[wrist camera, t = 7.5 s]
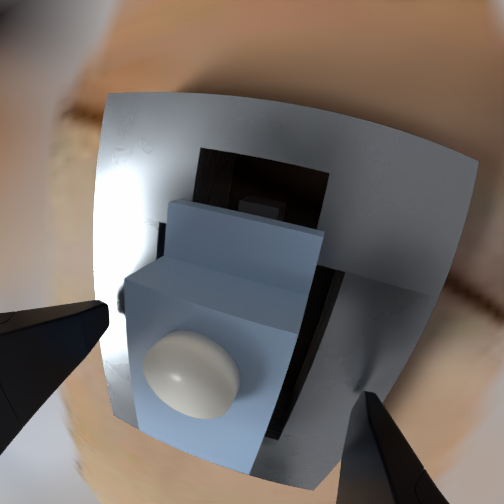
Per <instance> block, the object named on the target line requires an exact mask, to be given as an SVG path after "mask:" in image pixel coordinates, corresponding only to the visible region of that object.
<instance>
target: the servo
mask: <svg viewBox="0 0 504 504" xmlns="http://www.w3.org/2000/svg"><path fill="white" fill-rule="evenodd" d="M286 204H287V203H285V202H281V201H276V200H272V199H267V198H262V197H258V196H253V195H252V196H249V197H247V198H244V199H241V200H240V201H239V207H238V211H234V210H229V209H224V208H220V207H215V206H210V205H206V204H201V203H196V202H191V201H186V200H181V199H178V200H174V201H171V202H168V211H167V222H166V234H165V248H164V256H162V257H160V258H159V259H157V260H155V261H153V262H152V263H150V264H148V265H146V266H145V267H143V268H141V269H139V270H138V271H136V272H134V273H132V274H131V275H129V276H127V277H125V278H124V300H125V320H126V334H127V346H128V356H129V366H130V374H131V382H132V389H133V396H134V403H135V409H136V415H137V420H138V426H139V431H141V432H143V433H145V434H147V435H149V436H151V437H153V438H155V439H157V440H159V441H161V442H164V443H166V444H168V445H170V446H172V447H175V448H177V449H179V450H182V451H184V452H186V453H189V454H191V455H194V456H196V457H199V458H201V459H204V460H206V461H209V462H212V463H215V464H217V465H220V466H223V467H226V468H229V469H232V470H235V471H238V472H242V473H245V474H248V475H249V473H250V471H251V468H252V466H253V463H254V461H255V458H256V456H257V453H258V451H259V448H260V445H261V443H262V440H263V438H264V435H265V432H266V430H267V427H268V424H269V421H270V419H271V416H272V413H273V410H274V408H275V405H276V402H277V399H278V396H279V393H280V390H281V387H282V384H283V381H284V378H285V375H286V372H287V369H288V366H289V363H290V360H291V357H292V354H293V351H294V347H295V344H296V341H297V338H298V334H299V331H300V327H301V323H302V319H303V315H304V311H305V307H306V303H307V299H308V295H309V292H310V288H311V284H312V280H313V277H314V273H315V269H316V265H317V261H318V257H319V253H320V249H321V245H322V241H323V237H324V231H320V230H316V229H312V228H308V227H303V226H299V225H295V224H291V223H287V222H283V220H284V215H285V210H286Z"/></svg>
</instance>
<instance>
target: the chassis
mask: <svg viewBox="0 0 504 504" xmlns="http://www.w3.org/2000/svg"><path fill="white" fill-rule="evenodd" d="M236 153H238V154H243V155H249V156H254V157H259V158H265V159H270V160H274V161H279V162H284V163H289V164H293V165H298V166H302V167H306V168H311V169H315V170H319V171H323V172H327V173H330V175H329V179H328V184H327V188H326V193H325V197H324V201H323V205H322V210H321V214H320V218H319V222H318V226H317V230H320V231H324V237H323V241H322V245H321V249H320V253H319V257H318V261H317V264H318V265H322V266H325V267H329V268H332V269H336V270H335V273H334V276H333V279H332V283H331V286H330V289H329V292H328V295H327V298H326V301H325V304H324V307H323V310H322V313H321V316H320V319H319V322H318V325H317V328H316V331H315V333H314V336H313V339H312V342H311V345H310V347H309V350H308V353H307V355H306V358H305V361H304V363H303V366H302V369H301V371H300V374H299V376H298V379H297V381H296V384H295V386H294V389H293V391H292V393H291V392H288V391H284V390H280V393H279V396H278V399H277V402H276V405H275V408H274V410H273V413H272V416H271V419H270V421H269V424H268V427H267V430H266V432H265V435H264V438H263V440H262V443H261V445H260V448H259V451H258V453H257V456H256V458H255V461H254V463H253V466H252V468H251V471H250V473H249V475H251V476H254V477H257V478H261V479H265V480H268V481H272V482H276V483H280V484H284V485H289V486H293V487H298V488H303V489H308V490H314V489H315V488H316V487H317V486H318V485H319V484H320V483H321V482H322V481H323V480H324V478H325V477H326V476H327V475H328V474H329V473H330V472H331V471H332V469H333V468H334V467H335V466H336V465H337V463H338V462H339V461H340V460H341V459H342V453H343V448H344V443H345V438H346V433H347V428H348V423H349V418H350V413H351V410H352V408H353V406H354V404H355V403H356V401H357V399H358V398H359V396H360V394H361V393H362V392H363V391H369V392H374V393H376V395H377V396H378V397H379V399H380V401H381V402H382V403H383V401H384V400H385V398H386V397H387V395H388V393H389V392H390V390H391V389H392V387H393V385H394V384H395V382H396V380H397V379H398V377H399V375H400V374H401V372H402V370H403V368H404V367H405V365H406V363H407V361H408V359H409V358H410V356H411V354H412V352H413V350H414V348H415V346H416V344H417V342H418V341H419V339H420V337H421V335H422V333H423V331H424V328H425V326H426V324H427V322H428V320H429V318H430V316H431V314H432V311H433V309H434V307H435V305H436V302H437V300H438V298H439V295H440V293H441V290H442V288H443V285H444V283H445V280H446V278H447V275H448V273H449V270H450V267H451V264H452V262H453V259H454V256H455V253H456V250H457V247H458V244H459V241H460V238H461V234H462V231H463V228H464V224H465V221H466V217H467V214H468V210H469V206H470V202H471V198H472V194H473V189H474V185H475V180H476V175H477V170H478V165H479V161H477V160H475V159H473V158H470V157H468V156H466V155H464V154H461V153H459V152H457V151H454V150H452V149H449V148H447V147H444V146H442V145H439V144H437V143H434V142H432V141H429V140H426V139H423V138H421V137H418V136H415V135H412V134H409V133H406V132H403V131H400V130H397V129H394V128H391V127H387V126H384V125H381V124H377V123H374V122H370V121H367V120H363V119H359V118H355V117H351V116H347V115H343V114H339V113H335V112H331V111H326V110H321V109H317V108H312V107H306V106H301V105H296V104H290V103H284V102H278V101H271V100H264V99H256V98H248V97H239V96H229V95H217V94H203V93H181V92H132V93H111V94H107V100H106V105H105V110H104V116H103V123H102V129H101V136H100V144H99V152H98V161H97V171H96V183H95V199H94V229H93V252H94V281H95V297H96V300H101V301H103V302H105V303H107V304H108V306H109V317H110V325H109V327H108V329H107V330H106V332H105V333H104V334H103V335H102V337H101V338H100V345H101V352H102V359H103V365H104V371H105V377H106V382H107V387H108V392H109V397H110V402H111V406H112V411H113V415H114V416H116V417H117V418H119V419H121V420H122V421H124V422H126V423H128V424H130V425H131V426H133V427H135V428H137V429H139V426H138V420H137V415H136V409H135V403H134V396H133V389H132V382H131V374H130V366H129V356H128V346H127V334H126V320H125V300H124V278H125V277H127V276H129V275H131V274H132V273H134V272H136V271H138V270H139V269H141V268H143V267H145V266H146V265H148V264H150V263H152V262H153V261H155V260H157V259H159V258H160V257H162V256H164V248H165V234H166V222H167V211H168V202H171V201H174V200H178V199H181V200H186V201H191V202H196V203H201V204H206V205H210V206H215V207H220V208H224V209H227V204H228V198H229V192H230V187H231V181H232V175H233V170H234V164H235V159H236ZM241 473H242V472H241ZM244 474H245V473H244ZM247 475H248V474H247Z"/></svg>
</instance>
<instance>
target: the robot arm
mask: <svg viewBox="0 0 504 504" xmlns="http://www.w3.org/2000/svg"><path fill="white" fill-rule="evenodd" d="M109 325H110V317H109V306H108V304H107V303H105V302H103V301H101V300H92V301H85V302H79V303H72V304H65V305H58V306H51V307H44V308H37V309H30V310H22V311H17V312H7V313H0V455H1V454H2V453H3V451H4V450H5V449H6V447H7V446H8V445H9V444H10V443H11V441H12V440H13V439H14V438H15V437H16V435H17V434H18V433H19V432H20V431H21V430H22V428H23V427H24V426H25V425H26V423H27V422H28V421H29V420H30V419H31V418H32V416H33V415H34V414H35V413H36V412H37V411H38V409H39V408H40V407H41V406H42V405H43V404H44V403H45V401H46V400H47V399H48V398H49V397H50V396H51V395H52V394H53V392H54V391H55V390H56V389H57V388H58V387H59V386H60V385H61V384H62V382H63V381H64V380H65V379H66V378H67V377H68V376H69V375H70V374H71V373H72V372H73V370H74V369H75V368H76V367H77V366H78V365H79V364H80V363H81V362H82V361H83V360H84V359H85V357H86V356H87V355H88V354H89V353H90V351H91V350H92V349H93V347H94V346H95V345H96V343H97V342H98V341H99V339H100V338H101V337H102V335H103V334H104V333H105V332H106V330H107V329H108V327H109ZM336 504H449V503H448V501H447V500H446V499H445V498H444V496H443V495H442V493H441V492H440V491H439V489H438V488H437V487H436V485H435V484H434V482H433V481H432V479H431V478H430V476H429V474H428V473H427V471H426V470H425V469H424V467H423V465H422V463H421V462H420V460H419V459H418V457H417V456H416V454H415V453H414V451H413V449H412V448H411V446H410V445H409V443H408V442H407V440H406V439H405V437H404V435H403V434H402V432H401V431H400V429H399V428H398V426H397V425H396V423H395V422H394V420H393V419H392V417H391V416H390V414H389V413H388V411H387V410H386V408H385V407H384V405H383V404H382V402H381V401H380V399H379V397H378V396H377V395H376V393H374V392H369V391H363V392H362V393H361V394H360V396H359V398H358V399H357V401H356V403H355V404H354V406H353V408H352V410H351V413H350V418H349V423H348V428H347V433H346V438H345V443H344V448H343V453H342V460H341V470H340V478H339V486H338V494H337V501H336Z"/></svg>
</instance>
